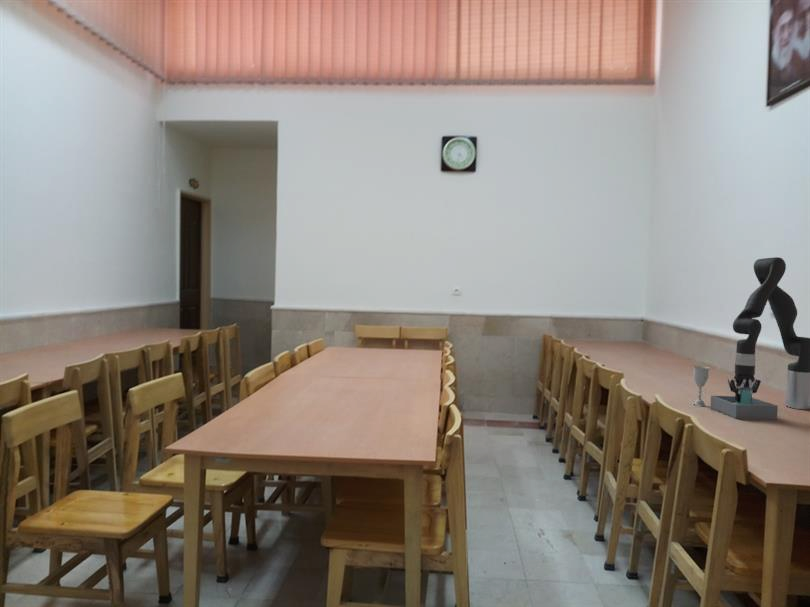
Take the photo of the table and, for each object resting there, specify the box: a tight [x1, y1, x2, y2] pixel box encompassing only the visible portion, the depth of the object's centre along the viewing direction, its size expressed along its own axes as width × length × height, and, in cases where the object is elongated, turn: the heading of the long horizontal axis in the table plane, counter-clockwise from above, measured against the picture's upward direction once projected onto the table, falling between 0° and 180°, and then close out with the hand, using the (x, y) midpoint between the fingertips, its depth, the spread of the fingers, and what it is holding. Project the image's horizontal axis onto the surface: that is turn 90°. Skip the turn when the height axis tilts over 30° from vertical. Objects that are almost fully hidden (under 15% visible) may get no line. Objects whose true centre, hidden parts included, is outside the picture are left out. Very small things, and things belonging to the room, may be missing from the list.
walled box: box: [709, 395, 779, 420], centre depth 238 cm, size 18×18×6 cm
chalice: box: [692, 365, 710, 407], centre depth 254 cm, size 7×7×18 cm
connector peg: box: [736, 386, 752, 405], centre depth 238 cm, size 4×4×10 cm
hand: (743, 402), depth 238 cm, fingers closed on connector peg, 3 cm apart
